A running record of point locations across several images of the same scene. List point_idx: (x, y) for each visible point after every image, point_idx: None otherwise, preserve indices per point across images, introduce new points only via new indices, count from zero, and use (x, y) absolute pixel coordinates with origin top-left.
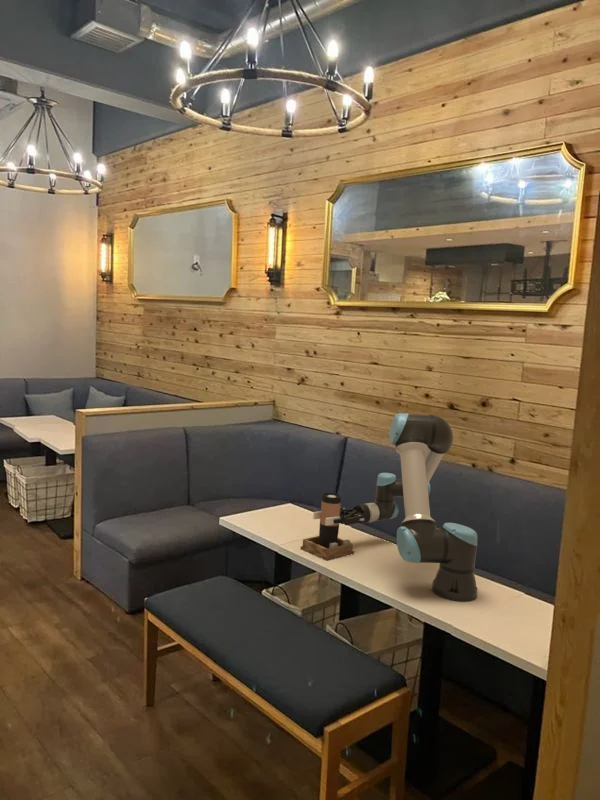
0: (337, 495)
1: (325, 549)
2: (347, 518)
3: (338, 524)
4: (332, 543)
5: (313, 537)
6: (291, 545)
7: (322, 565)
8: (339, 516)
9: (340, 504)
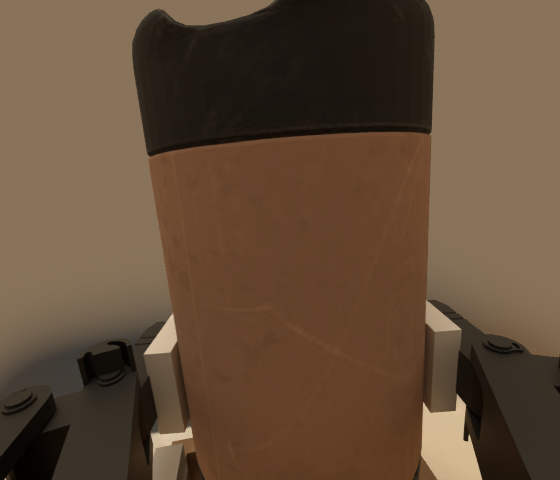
0: (331, 17)
1: (190, 439)
2: (7, 422)
3: (198, 459)
4: (170, 465)
5: (427, 478)
6: (443, 422)
7: (153, 434)
8: (190, 379)
9: (164, 190)
